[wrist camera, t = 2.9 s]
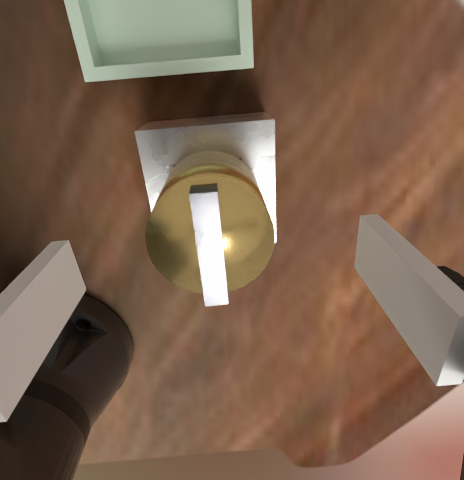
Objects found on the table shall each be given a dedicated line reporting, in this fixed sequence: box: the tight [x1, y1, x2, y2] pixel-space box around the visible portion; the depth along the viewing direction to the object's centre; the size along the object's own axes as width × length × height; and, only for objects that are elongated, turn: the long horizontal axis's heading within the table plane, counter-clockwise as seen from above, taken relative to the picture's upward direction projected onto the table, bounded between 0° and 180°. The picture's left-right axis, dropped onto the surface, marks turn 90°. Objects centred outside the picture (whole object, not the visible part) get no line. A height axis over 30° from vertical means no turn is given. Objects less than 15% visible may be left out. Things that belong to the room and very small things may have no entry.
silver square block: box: [135, 112, 276, 243], centre depth 24 cm, size 9×9×4 cm
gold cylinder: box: [146, 151, 275, 306], centre depth 21 cm, size 6×6×13 cm
